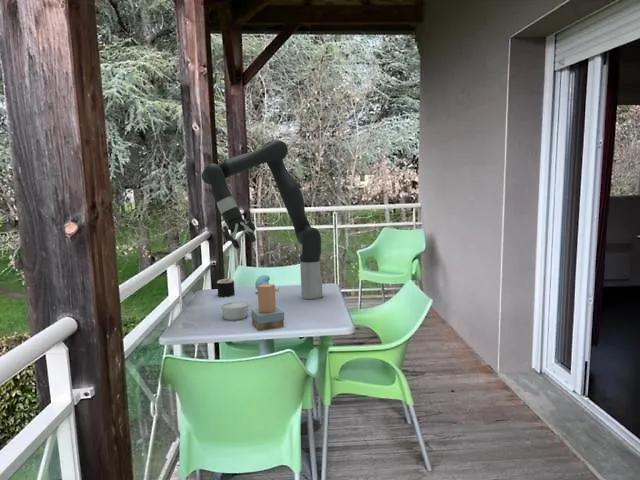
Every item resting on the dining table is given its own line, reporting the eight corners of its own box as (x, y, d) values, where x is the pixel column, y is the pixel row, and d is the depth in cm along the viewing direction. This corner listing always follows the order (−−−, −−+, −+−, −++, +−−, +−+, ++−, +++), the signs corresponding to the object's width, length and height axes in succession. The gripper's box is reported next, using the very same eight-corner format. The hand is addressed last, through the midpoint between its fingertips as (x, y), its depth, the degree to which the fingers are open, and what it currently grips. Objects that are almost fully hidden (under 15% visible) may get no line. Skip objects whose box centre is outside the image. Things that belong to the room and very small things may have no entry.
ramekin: (234, 312, 214) (233, 300, 214) (254, 315, 209) (254, 302, 208) (216, 319, 205) (215, 306, 204) (237, 322, 199) (236, 309, 198)
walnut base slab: (277, 321, 200) (276, 313, 200) (283, 327, 191) (283, 320, 190) (252, 324, 197) (251, 317, 196) (258, 331, 187) (257, 323, 187)
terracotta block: (264, 308, 196) (262, 283, 195) (275, 309, 195) (274, 284, 194) (258, 312, 192) (257, 286, 190) (270, 312, 190) (269, 286, 189)
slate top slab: (276, 313, 200) (275, 306, 199) (284, 319, 191) (283, 312, 190) (251, 317, 196) (251, 309, 196) (258, 323, 187) (258, 316, 186)
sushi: (235, 292, 251) (234, 277, 250) (233, 296, 243) (232, 280, 242) (219, 293, 251) (218, 277, 250) (216, 297, 243) (215, 281, 242)
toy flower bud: (281, 276, 247) (257, 276, 243) (280, 293, 248) (257, 294, 244) (277, 273, 254) (254, 274, 250) (277, 290, 255) (254, 291, 251)
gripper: (219, 211, 199) (237, 248, 199) (246, 202, 209) (263, 237, 209) (211, 217, 204) (228, 253, 204) (237, 208, 214) (254, 242, 214)
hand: (246, 245), depth 206 cm, fingers open, 8 cm apart
